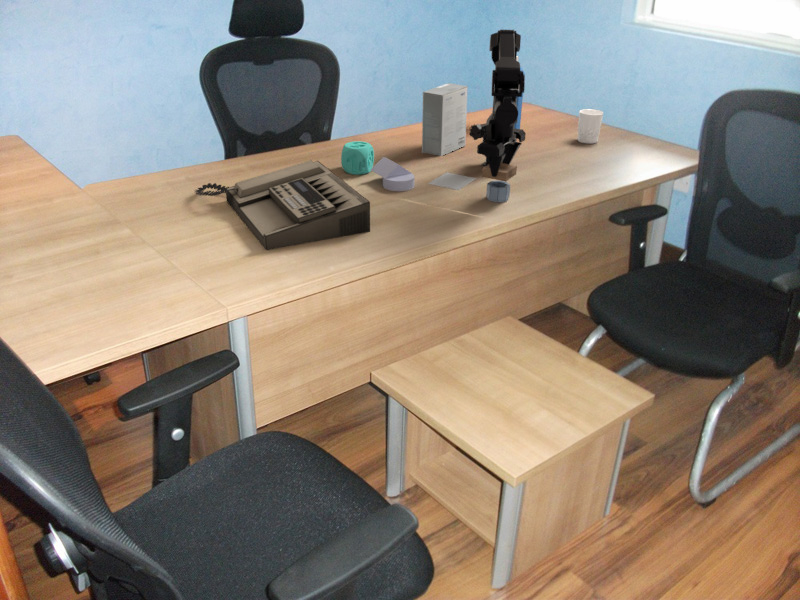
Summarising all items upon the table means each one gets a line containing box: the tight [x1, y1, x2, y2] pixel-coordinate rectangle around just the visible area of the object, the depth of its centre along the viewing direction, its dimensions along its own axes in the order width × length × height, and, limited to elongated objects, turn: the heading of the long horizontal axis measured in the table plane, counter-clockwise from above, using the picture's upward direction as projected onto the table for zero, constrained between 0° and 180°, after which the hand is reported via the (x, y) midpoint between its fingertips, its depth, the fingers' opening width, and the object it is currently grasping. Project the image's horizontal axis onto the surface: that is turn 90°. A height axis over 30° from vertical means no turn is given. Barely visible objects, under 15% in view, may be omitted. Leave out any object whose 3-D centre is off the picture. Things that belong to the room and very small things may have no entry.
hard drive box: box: [421, 82, 468, 157], centre depth 241 cm, size 16×8×20 cm, turn 144°
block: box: [481, 163, 518, 182], centre depth 202 cm, size 7×7×2 cm
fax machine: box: [195, 159, 371, 251], centre depth 194 cm, size 45×34×10 cm
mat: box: [427, 172, 478, 191], centre depth 218 cm, size 12×10×1 cm
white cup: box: [577, 108, 604, 145], centre depth 255 cm, size 8×8×10 cm
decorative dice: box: [340, 140, 375, 176], centre depth 224 cm, size 8×8×8 cm
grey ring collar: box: [485, 180, 511, 203], centre depth 205 cm, size 6×6×4 cm
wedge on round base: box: [370, 156, 415, 192], centre depth 214 cm, size 9×7×13 cm
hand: (499, 172), depth 202 cm, fingers closed on block, 7 cm apart
